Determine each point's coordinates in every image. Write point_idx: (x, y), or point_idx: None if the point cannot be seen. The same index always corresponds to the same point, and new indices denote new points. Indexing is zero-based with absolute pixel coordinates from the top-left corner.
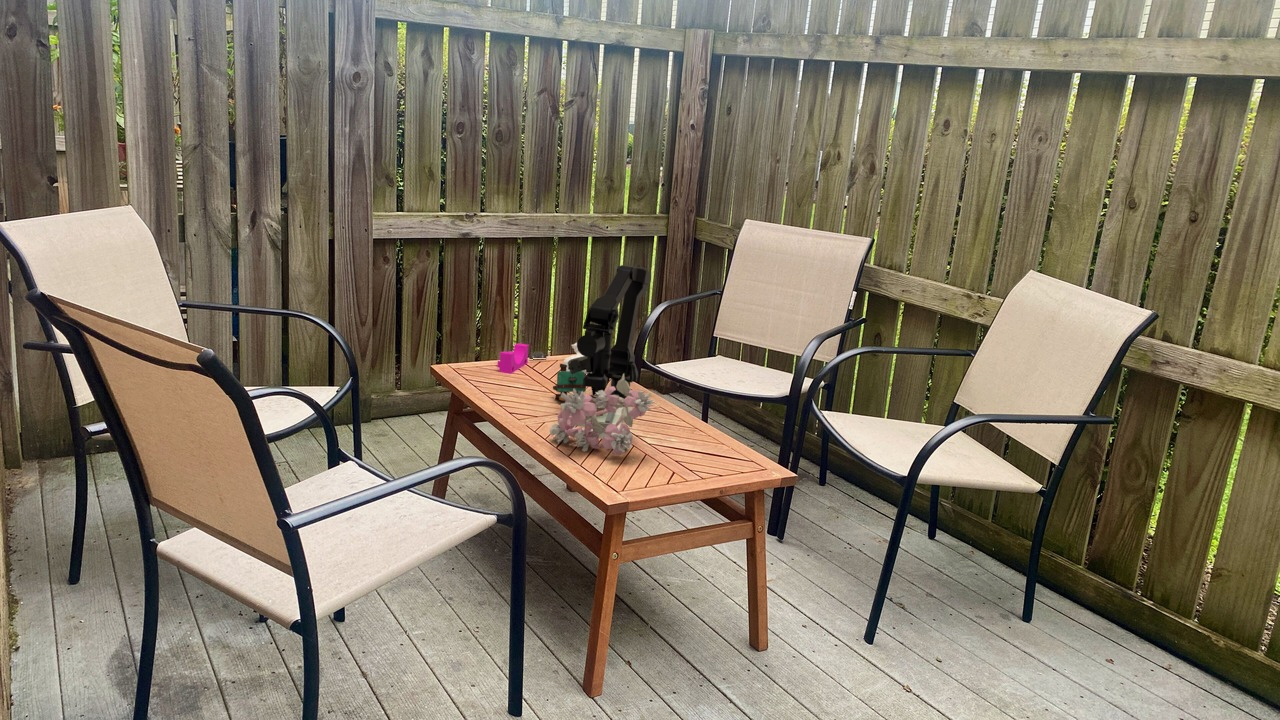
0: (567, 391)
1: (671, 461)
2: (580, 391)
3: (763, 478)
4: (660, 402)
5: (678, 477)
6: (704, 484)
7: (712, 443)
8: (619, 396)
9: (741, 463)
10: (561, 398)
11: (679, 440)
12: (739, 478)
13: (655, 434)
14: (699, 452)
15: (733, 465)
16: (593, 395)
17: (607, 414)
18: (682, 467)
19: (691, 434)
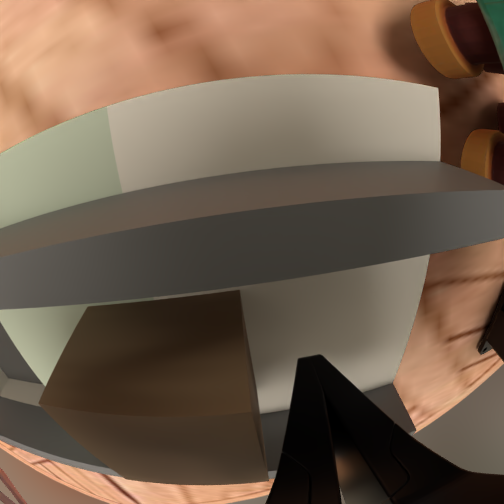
0: (500, 60)
1: None
2: (502, 214)
3: (94, 497)
4: (467, 395)
5: (6, 445)
6: (20, 459)
7: (182, 499)
8: (499, 339)
9: (122, 500)
10: (421, 11)
11: (156, 483)
12: (71, 486)
13: None
14: (117, 487)
15: (105, 494)
16: (255, 446)
17: (24, 445)
18: (36, 459)
19: (215, 491)
